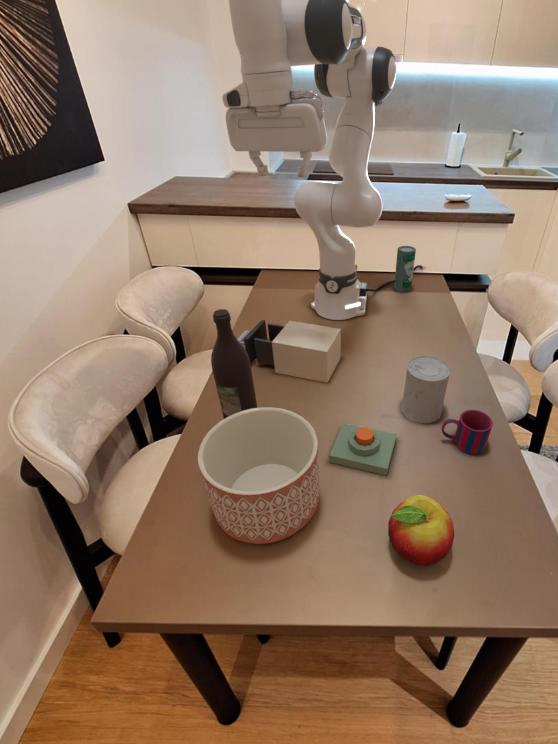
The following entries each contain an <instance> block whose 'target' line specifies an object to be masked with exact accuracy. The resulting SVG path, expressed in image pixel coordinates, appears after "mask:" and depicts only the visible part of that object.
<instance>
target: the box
mask: <svg viewBox="0 0 558 744" xmlns="http://www.w3.org/2000/svg"><path fill="white" fill-rule="evenodd" d="M363 427H364V426H362V425H356V424H351V423H347V422H343V423H342V424H341V427H340V428H339V429H340V430H339V431H338V434H337V436H336V439H335V441H334V444H333V446H332V448H331V450H330V452H329V455H328V456H329V457H328V459H329V460H328V462H329V463H330V464H335V465H339V466H343V467H348V468H351V469H357V470H360V471H364V472H369V473H374V474H377V475H382V476H388V472H389V468H390V464H391V461H392V456H393V453H394V450H395V445H396V442H397V433H394V432H389V431H385V430H379V429H376V428H372V427H366V426H365V427H366V428H369V429H371V430H372V431H373V442H372V443H371V444H370V445H367V446H362V445H359V444H358V443H357V442H356V431H357V430H358V429H359V428H363Z"/></svg>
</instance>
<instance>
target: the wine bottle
mask: <svg viewBox="0 0 558 744" xmlns="http://www.w3.org/2000/svg"><path fill="white" fill-rule="evenodd" d="M212 319H213V323H214V324H215V328H216V340H215V343H214V346H213V348H212V351H211V356H210V364H211V369H212V374H213V378H214V383H215V388H216V392H217V395H218V401H219V404H220V409H221V412H222V413H221V414H222V418H223V419H225V418H227V417H229V416H231V415H233V414H235V413H238V412H241V411H244V410H248V409H253V408H258V402H257V396H256V391H255V384H254V383H255V382H254V377H253V372H252V364H250V360H249V356H248V353H247V351H246V349H245V345H242V344H241V343H240V342H239V341H238V340H237V339H238V338H237V337H236V336H235V334H234V332H233V329H232V323H231V320H232V317H231V313H230V312H229V310H228V309H224V308H220V309H216V310H214V311H213V314H212Z"/></svg>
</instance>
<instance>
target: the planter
mask: <svg viewBox="0 0 558 744" xmlns="http://www.w3.org/2000/svg"><path fill="white" fill-rule="evenodd" d="M318 440H319V439H318V437H317V433H316V431H315V429H314V427H313V426H312V424H311V423H310V422H309V421H308V420H307V419H306V418H305V417H303V416H301V415H300V414H298V413H296V412H294V411H292V410H288V409H285V408H280V407H270V406H263V407H262V406H261V407H257V408H253V409H248V410H244V411H241V412H238V413H235V414H233V415H231V416H229V417H227V418H225V419H224V418H223V419H222V420H220V421H219V422H218V423H216V424H215V425H214V426H213V427H212V428H211V429H210V430H209V431H208V432H207V433H206V434H205V436H204V437H203V439H202V441H201V443H200V445H199V448H198V452H197V464H198V469H199V472H200V474H201V478H202V481H203V485H204V488H205V491H206V494H207V498H208V500H209V503H210V507H211V509H212V512H213V515H214V519H215V521H216V523H217V524H218V526H219V528H220V529H221V530H222V531H223V532H224V533H226V534H227V535H228V536H230V537H231V538H233V539H235V540H237V541H240V542H243V543H247V544H255V545H263V544H264V545H265V544H271V543H275V542H280V541H282V540H284V539H287V538H289V537H291V536H293V535H294V534H296V533H298V532H299V531H300V530H301V529H303V528H304V527H305V526H306V525H307V524H308V523H309V521H310V520H311V519H312V518H313V517H314V514H315V512H316V511H317V508H318V505H319V502H320V497H321V488H320V465H319V464H320V463H319V441H318Z"/></svg>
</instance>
